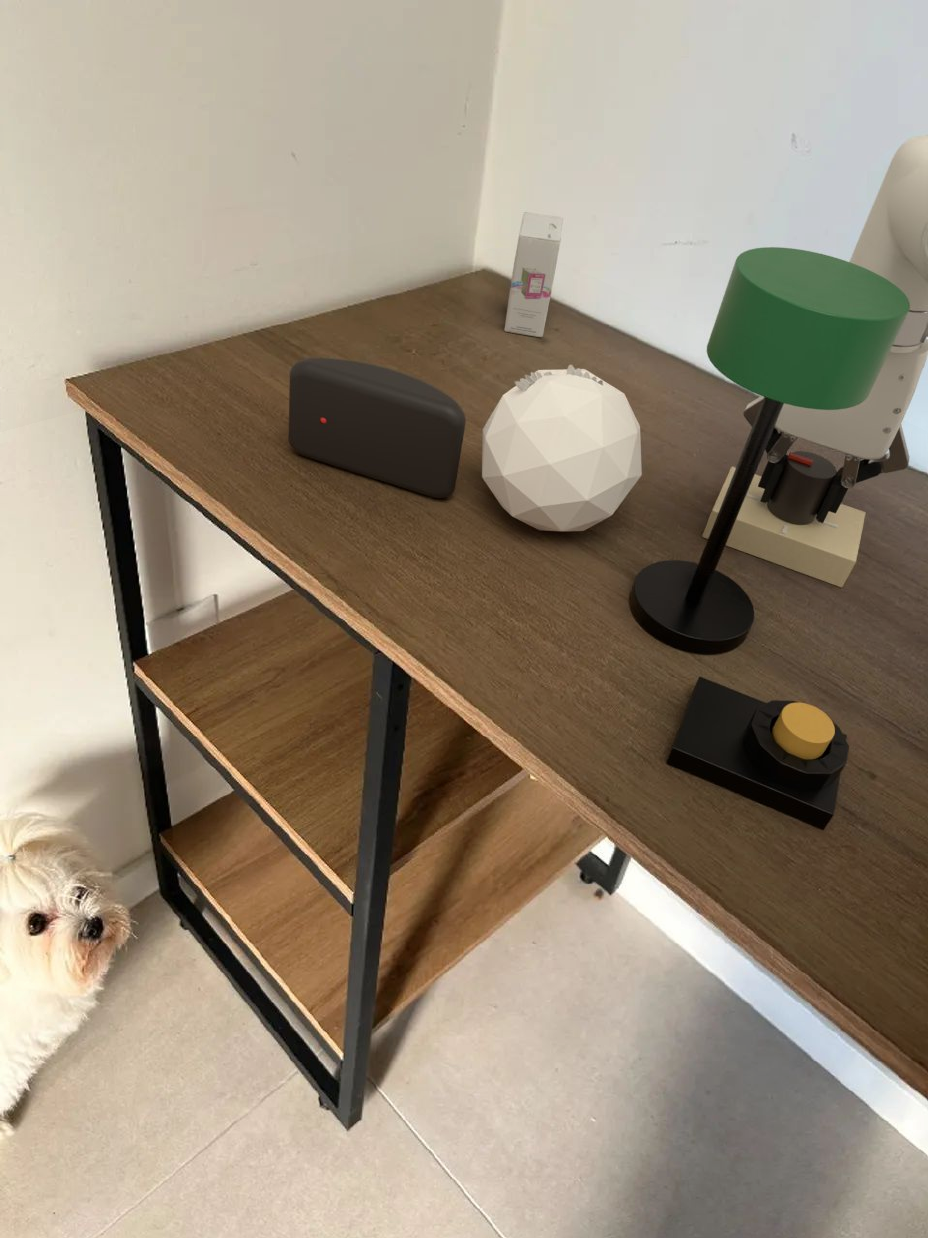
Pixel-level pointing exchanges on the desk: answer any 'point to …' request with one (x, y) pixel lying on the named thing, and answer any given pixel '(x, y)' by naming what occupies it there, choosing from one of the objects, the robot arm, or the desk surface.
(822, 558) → the dimmer panel
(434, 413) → the dark grey speaker
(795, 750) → the button
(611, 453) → the geodesic sphere
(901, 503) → the desk surface
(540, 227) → the ink box
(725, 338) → the desk lamp
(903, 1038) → the desk surface
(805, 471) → the dimmer knob
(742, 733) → the button base
